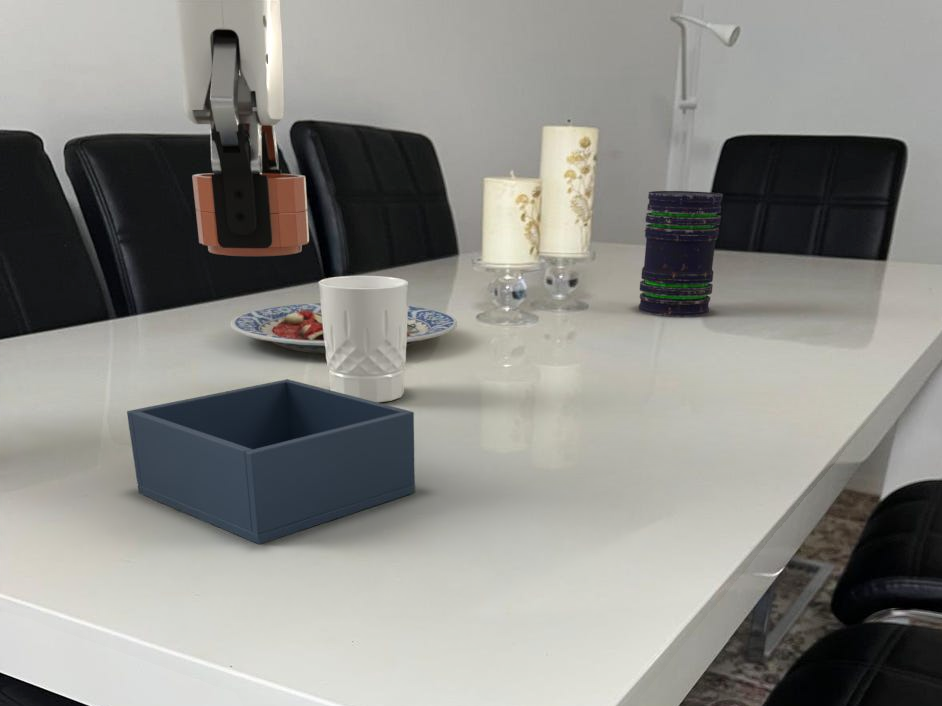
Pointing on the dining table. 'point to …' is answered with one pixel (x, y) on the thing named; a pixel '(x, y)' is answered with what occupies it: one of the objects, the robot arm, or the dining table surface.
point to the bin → (273, 456)
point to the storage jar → (679, 253)
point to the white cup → (365, 335)
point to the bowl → (284, 212)
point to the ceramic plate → (305, 327)
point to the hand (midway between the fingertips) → (253, 238)
